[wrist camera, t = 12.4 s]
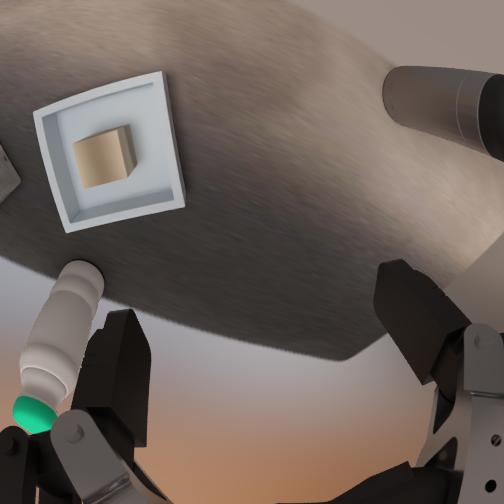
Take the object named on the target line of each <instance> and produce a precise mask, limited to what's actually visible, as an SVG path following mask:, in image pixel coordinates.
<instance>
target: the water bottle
mask: <svg viewBox="0 0 504 504" xmlns="http://www.w3.org/2000/svg"><path fill="white" fill-rule="evenodd" d="M103 290H104V280H103V277H102V275H101V273H100V272H99V270H98V269H97V268H96V267H95V266H93V265H92V264H90V263H88V262H85V261H80V260H76V261H72V262H70V263H68V264H67V265H66V266H65V267H64V268H63V270H62V271H61V273H60V275H59V278H58V281H57V282H56V283H55V285H54V286H53V288H52V290H51V293H50V296H49V298H48V300H47V302H46V303H45V305H44V306H43V308H42V310H41V312H40V314H39V316H38V318H37V320H36V322H35V324H34V326H33V329H32V331H31V334H30V336H29V339H28V342H27V346H26V347H25V348H24V349H23V351H22V353H21V355H20V363H19V364H20V373H21V384H22V387H23V393H21V394H19V395H18V398H17V399H16V401H15V403H14V407H13V417H14V419H15V420H16V422H17V423H18V424H19V425H20V426H22V427H23V428H24V429H27V430H28V431H30V432H32V433H34V434H36V433H40V432H44V431H47V430H51V428H52V425H53V423H54V421H55V420H56V419H57V418H58V417H57V415H58V413H57V411H56V406H57V405H58V404H60V403H61V402H62V401H63V400H64V399H65V397H66V396H67V395H68V394H69V393H70V392H72V390H73V389H74V388H75V386H76V384H77V380H78V369H79V367H80V364H81V361H82V358H83V355H84V352H85V348H86V344H87V341H88V337H89V333H90V329H91V324H92V320H93V318H94V316H95V314H96V311H97V306H98V302H99V301H100V298H101V296H102V293H103Z"/></svg>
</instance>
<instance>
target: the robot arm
mask: <svg viewBox="0 0 504 504" xmlns="http://www.w3.org/2000/svg"><path fill="white" fill-rule="evenodd" d="M383 99H384V104H385V107H386V109H387V111H388V113H389V115H390V116H391V117H392V119H393V120H394V121H396V122H397V123H399V124H400V125H403V126H406V127H410V128H413V129H416V130H419V131H422V132H425V133H428V134H432V135H435V136H438V137H441V138H443V139H446V140H449V141H452V142H455V143H458V144H460V145H463V146H466V147H468V148H471V149H473V150H476V151H479V152H481V153H484V154H486V155H488V156H491V157H493V158H495V159H498V160H500V161H503V162H504V75H502V74H495V73H488V72H481V71H472V70H464V69H454V68H441V67H423V66H400V67H397V68H395V69H393V70H392V71H391V72H390V73H389V74H388V76H387V78H386V80H385V82H384V87H383ZM373 303H374V309H375V312H376V315H377V317H378V318H379V320H380V321H381V323H382V324H383V325H384V327H385V328H386V330H387V331H388V333H389V334H390V336H391V337H392V339H393V340H394V342H395V343H396V345H397V346H398V348H399V349H400V351H401V353H402V354H403V356H404V357H405V359H406V360H407V362H408V363H409V365H410V367H411V368H412V370H413V371H414V373H415V375H416V376H417V378H418V379H419V381H420V382H421V384H422V385H425V384H427V383H429V382H432V381H435V382H436V384H437V386H436V389H435V391H434V399H433V406H432V412H431V418H430V424H429V429H428V435H427V439H426V442H425V444H424V446H423V448H422V450H421V452H420V455H419V457H418V460H417V463H416V466H415V467H413V468H411V467H410V465H409V463H408V461H406V462H404V463H402V464H400V465H398V466H395V467H393V468H391V469H388V470H386V471H384V472H381V473H379V474H376V475H374V476H371V477H369V478H367V479H366V480H364V481H363V482H361V483H360V484H358V485H356V486H355V487H353V488H352V489H350V490H348V491H347V492H345V493H343V494H342V495H340V496H338V497H336V498H335V499H333V500H331V501H328V502H319V503H277V504H504V333H498V332H497V330H495V329H494V328H492V327H491V326H489V325H487V324H483V323H474V324H472V323H471V322H470V320H469V319H468V318H467V317H466V316H465V315H464V314H463V313H462V311H461V310H460V309H459V308H458V307H457V306H456V305H455V304H454V303H453V302H452V301H451V300H450V298H449V297H448V296H445V293H444V292H443V291H442V290H441V289H440V288H438V286H437V285H436V284H435V283H434V282H433V281H432V280H431V279H430V278H429V277H428V276H426V275H425V274H423V273H421V272H419V271H417V270H413V269H412V268H411V267H410V266H409V265H408V264H407V263H406V262H405V261H404V260H403V259H396V260H392V261H388V262H383V263H381V264H380V265H379V268H378V274H377V281H376V287H375V293H374V300H373ZM84 355H85V357H84V358H83V361H82V365H81V366H82V368H80V372H79V376H78V380H77V384H76V388H75V392H74V396H73V401H72V405H71V409H70V410H69V411H66V412H64V413H63V414H61V415H60V416H59V417H58V418H57V419H56V420H55V421H54V423H53V425H52V428H51V430H47V431H44V432H40V433H36V434H32V435H28V434H27V433H26V432H25V431H23V429H21V428H20V427H17V426H9V427H7V428H5V429H4V430H2V431H1V432H0V504H35V497H36V487H38V488H39V504H82V502H83V504H174V503H173V502H171V501H170V500H169V498H168V497H167V496H166V495H165V494H164V493H163V492H162V491H161V490H160V489H159V487H158V486H157V485H156V484H155V483H154V482H153V481H152V479H151V478H150V477H149V476H148V475H147V474H146V472H145V471H144V470H143V469H142V468H141V466H140V465H139V464H138V462H137V461H136V460H135V459H134V447H146V445H147V442H146V441H147V416H148V415H147V414H148V396H149V383H150V368H151V351H150V347H149V343H148V341H147V339H146V337H145V334H144V332H143V330H142V328H141V326H140V324H139V321H138V319H137V317H136V314H135V312H134V311H133V310H132V309H124V310H117V311H110V312H109V313H108V314H107V318H106V321H105V324H104V328H103V329H97V330H96V332H95V333H94V335H93V336H92V337H91V338H90V340H89V341H88V344H87V347H86V351H85V354H84Z"/></svg>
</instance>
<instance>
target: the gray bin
mask: <svg viewBox="0 0 504 504" xmlns="http://www.w3.org/2000/svg"><path fill="white" fill-rule="evenodd" d="M33 116H34V121H35V126H36V131H37V136H38V140H39V145H40V149H41V153H42V157H43V161H44V165H45V169H46V172H47V176H48V179H49V183H50V186H51V190H52V193H53V196H54V199H55V202H56V206H57V209H58V212H59V215H60V217H61V220H62V223H63V226H64V229H65V232H66V233H69V232H73V231H77V230H81V229H85V228H89V227H93V226H97V225H102V224H106V223H110V222H115V221H119V220H124V219H128V218H133V217H137V216H142V215H147V214H152V213H156V212H161V211H166V210H171V209H176V208H182V207H185V200H186V190H185V185H184V180H183V174H182V169H181V164H180V158H179V152H178V147H177V141H176V135H175V129H174V123H173V117H172V111H171V104H170V97H169V91H168V84H167V77H166V74H165V73H164V72H162V71H159V72H154V73H150V74H146V75H141V76H137V77H133V78H129V79H126V80H122V81H118V82H115V83H111V84H108V85H105V86H101V87H98V88H95V89H92V90H89V91H86V92H83V93H80V94H77V95H74V96H72V97H69V98H66V99H64V100H61V101H58V102H56V103H53V104H51V105H48V106H46V107H43V108H41V109H39V110H36V111H34V112H33ZM127 124H129V125H130V130H131V135H132V140H133V145H134V149H135V154H136V159H137V163H138V164H137V166H136V167H135V168H134V170H133V171H132V173H131V174H130V175H129V177H128V178H125V179H121V180H117V181H113V182H110V183H106V184H102V185H98V186H95V187H91V188H87V189H84V187H83V183H82V180H81V176H80V173H79V169H78V165H77V161H76V157H75V153H74V149H73V145H72V144H73V143H75V142H77V141H79V140H81V139H83V138H85V137H87V136H89V135H92V134H95V133H99V132H102V131H105V130H109V129H112V128H116V127H119V126H123V125H127Z"/></svg>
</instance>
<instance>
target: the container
mask: <svg viewBox="0 0 504 504" xmlns="http://www.w3.org/2000/svg"><path fill="white" fill-rule="evenodd" d="M20 182H21V179H20V177H19V176H18V174H17V172H16V171H15V169H14V167H13V166H12V164H11V162H10V160H9V159H8V157H7V155H6V154H5V152H4V150H3V148H2V146H1V145H0V203H1V202H2V201H3V200H4V199H5V198H6V197H7V196H8V195H9V194H10V193H11V192H12V191H13V190H14V189H15V188H16V187H17V186H18V185H19V184H20Z"/></svg>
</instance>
